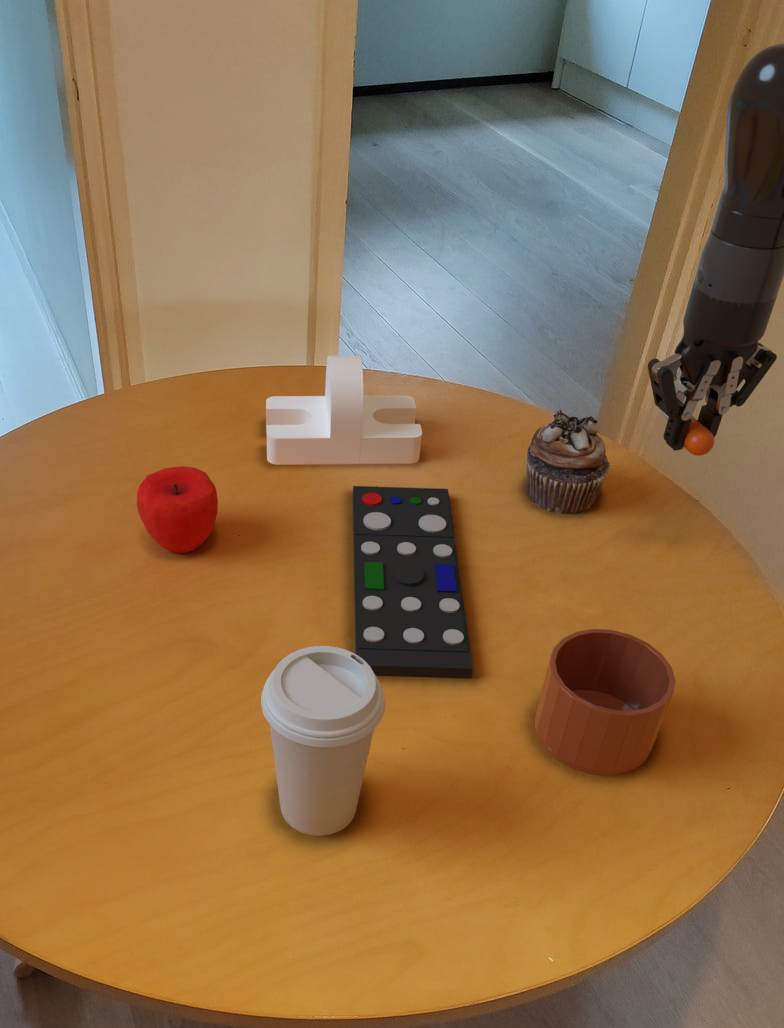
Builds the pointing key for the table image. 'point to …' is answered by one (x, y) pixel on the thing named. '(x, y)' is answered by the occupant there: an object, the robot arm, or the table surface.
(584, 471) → the cupcake
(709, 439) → the orange double-bulb handle
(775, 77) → the robot arm
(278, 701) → the coffee cup
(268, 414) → the bracket
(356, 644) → the remote control
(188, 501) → the apple
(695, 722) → the table surface
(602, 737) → the utensil cup
